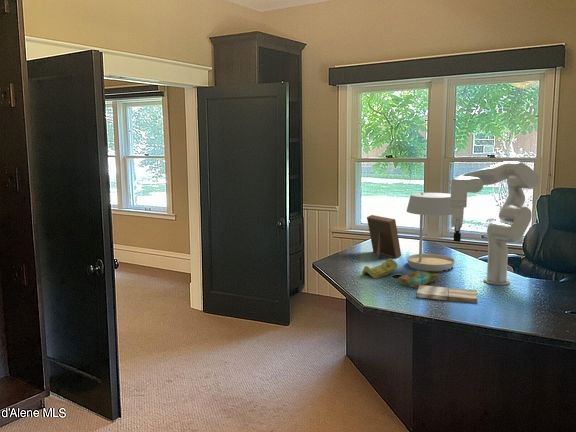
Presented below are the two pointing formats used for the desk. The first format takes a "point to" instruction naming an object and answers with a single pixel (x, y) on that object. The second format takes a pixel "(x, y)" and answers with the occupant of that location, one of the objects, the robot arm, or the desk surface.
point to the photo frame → (384, 236)
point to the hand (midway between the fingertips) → (457, 241)
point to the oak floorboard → (462, 295)
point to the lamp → (428, 206)
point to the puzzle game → (417, 278)
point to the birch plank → (433, 292)
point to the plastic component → (381, 269)
